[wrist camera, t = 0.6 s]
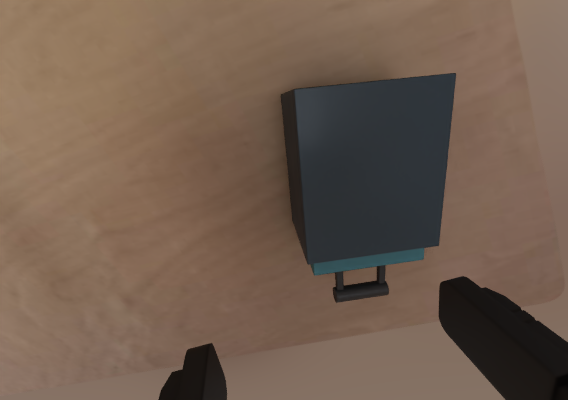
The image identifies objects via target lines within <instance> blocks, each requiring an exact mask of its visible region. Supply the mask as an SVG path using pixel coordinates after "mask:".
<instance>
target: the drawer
mask: <svg viewBox="0 0 568 400" xmlns="http://www.w3.org/2000/svg"><path fill="white" fill-rule="evenodd" d="M423 259H424V248H419V249H412V250H406V251H399V252H392V253H385V254H378V255H371V256H364V257H357V258H350V259H343V260H336V261H329V262H322V263H315V264H310V265H311V268H312V270H313V273H314V275H321V274H328V273H335V279H336V287H333V295H334V299H335V301H336V303H338V302H344V301H350V300H357V299H363V298H370V297H376V296H383V295H388V293H389V288H388V285H387V282H386V281H385V265H389V264H396V263H403V262H410V261H416V260H423ZM376 266H377V281H371V282H365V283H358V284H351V285H345V286H344V285H343V271H348V270H355V269H362V268H369V267H376Z"/></svg>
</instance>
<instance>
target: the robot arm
mask: <svg viewBox="0 0 568 400" xmlns="http://www.w3.org/2000/svg"><path fill="white" fill-rule="evenodd" d="M439 319H440V322H441V325H442V327H443V329H444V330H445V332H446V333H447V334H448V336H449V337H450V338H451V339H452V340H453V341H454V342H455V343H456V345H457V346H458V347H459V348H460V349H461V350H462V351H463V352H464V354H465V355H466V356H467V357H468V358H469V359H470V360H471V361H472V363H473V364H474V365H475V366H476V367H477V368H478V369H479V370H480V371H481V373H482V374H483V375H484V376H485V377H486V378H487V379H488V380H489V382H490V383H491V384H492V385H493V386H494V387H495V388H496V389H497V391H498V392H499V393H500V394H501V395H502V396H503V397H504V398H505V400H568V342H566V341H565V340H564V339H562V338H561V337H560V336H558V335H557V334H556V333H554V332H553V331H551V330H550V329H549V328H547V327H546V326H545V325H543V324H542V323H541V322H539V321H536V320H535V319H534V317H532V316H531V315H530V314H528V313H527V312H526V311H524V310H523V311H522V310H521V308H520V307H519V306H518V305H516V304H515V303H513V302H512V301H511V300H509V299H508V298H507V297H505V296H504V295H501V294H499V293H497V292H495V291H492V290H490V289H488V288H486V287H485V288H480V287H479V286H478V285H476V284H475V283H474V282H473V281H471V280H470V279H469V278H467V277H464V276H462V277H458V278H454V279H450V280H447V281H443V282H441V283H440V290H439ZM159 400H227V388H226V380H225V376H224V373H223V370H222V367H221V365H220V362H219V359H218V356H217V354H216V351H215V348H214V346H213V344H212V343H210V344H206V345H202V346H198V347H194V348H190V349H188V350H187V352H186V355H185V360H184V365H183V369H182V370H178V371H175V372H172V373H171V375H170V377H169V378H168V380H167V381H166V383H165V385H164V386H163V388H162V390H161V393H160V396H159Z"/></svg>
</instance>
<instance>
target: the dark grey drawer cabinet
mask: <svg viewBox="0 0 568 400" xmlns="http://www.w3.org/2000/svg"><path fill="white" fill-rule="evenodd" d="M455 79H456V73H450V74H440V75H430V76H420V77H410V78H400V79H390V80H380V81H370V82H360V83H350V84H340V85H329V86H319V87H309V88H299V89H293V90H291V91H288V92H286V93H283V94H281V103H282V114H283V124H284V135H285V146H286V156H287V167H288V177H289V188H290V199H291V209H292V220H293V223H294V226H295V229H296V232H297V235H298V238H299V241H300V244H301V246H302V249H303V252H304V255H305V258H306V261H307V264H315V263H322V262H329V261H336V260H343V259H350V258H357V257H364V256H371V255H378V254H385V253H392V252H399V251H406V250H412V249H419V248H426V247H433V246H439V238H440V228H441V218H442V208H443V198H444V189H445V179H446V169H447V159H448V149H449V139H450V129H451V119H452V109H453V99H454V89H455Z"/></svg>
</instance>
